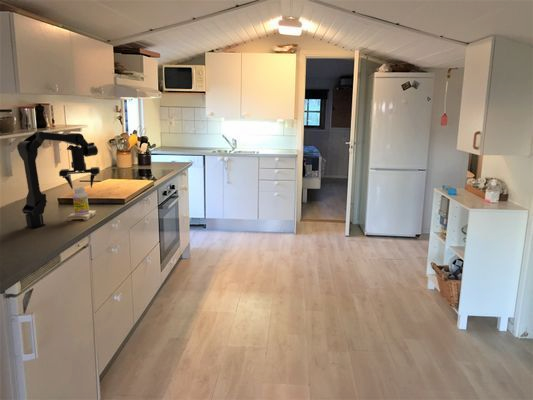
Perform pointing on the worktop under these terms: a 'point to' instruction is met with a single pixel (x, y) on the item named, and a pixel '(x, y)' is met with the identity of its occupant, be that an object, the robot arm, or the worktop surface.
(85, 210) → the supplement bottle
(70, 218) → the birch stand
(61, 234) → the worktop surface
